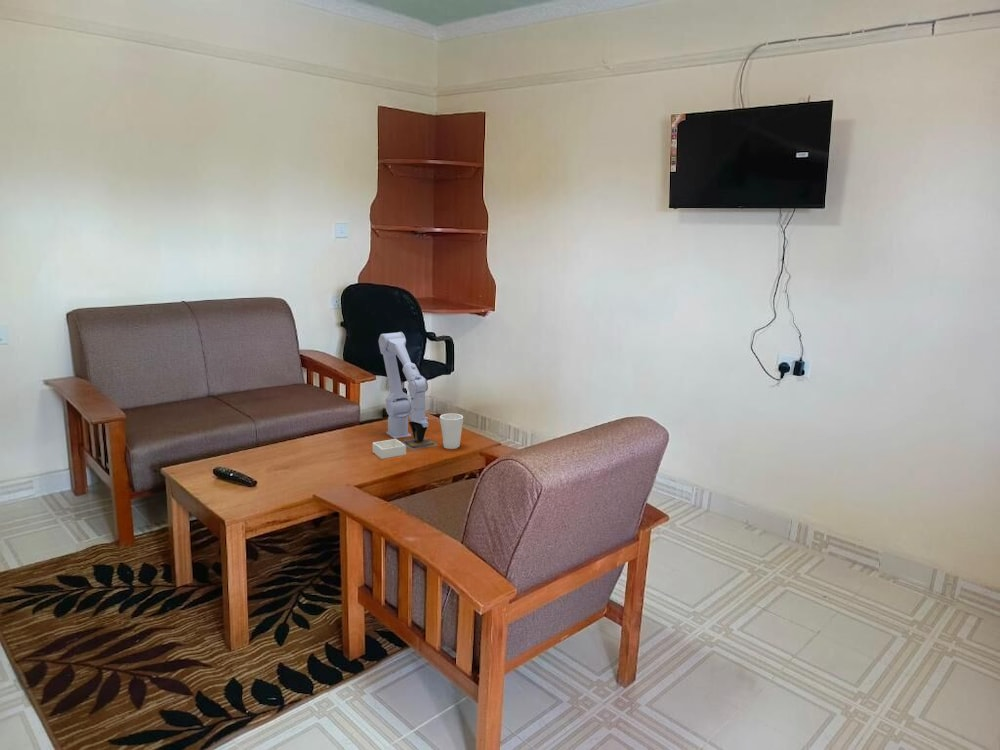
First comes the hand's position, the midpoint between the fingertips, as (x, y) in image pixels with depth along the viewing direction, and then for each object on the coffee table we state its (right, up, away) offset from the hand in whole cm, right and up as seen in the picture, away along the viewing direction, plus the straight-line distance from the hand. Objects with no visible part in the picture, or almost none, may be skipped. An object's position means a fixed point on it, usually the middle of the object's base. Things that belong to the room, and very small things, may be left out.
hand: (418, 439), depth 289 cm
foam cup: (+14, -3, -3) cm, 14 cm away
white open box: (-10, -5, -11) cm, 16 cm away
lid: (0, -2, 0) cm, 2 cm away
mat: (0, -2, 0) cm, 2 cm away
